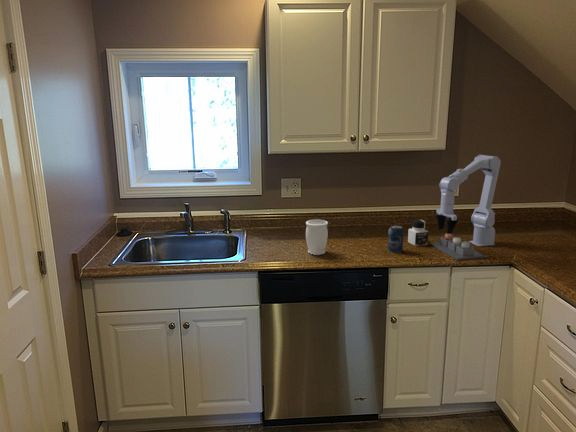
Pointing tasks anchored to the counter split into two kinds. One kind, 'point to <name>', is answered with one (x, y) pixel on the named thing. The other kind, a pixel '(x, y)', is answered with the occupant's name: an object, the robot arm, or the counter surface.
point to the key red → (448, 236)
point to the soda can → (395, 239)
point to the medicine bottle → (418, 233)
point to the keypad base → (456, 250)
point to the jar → (316, 236)
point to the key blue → (465, 245)
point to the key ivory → (456, 240)
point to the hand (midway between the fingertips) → (445, 231)
